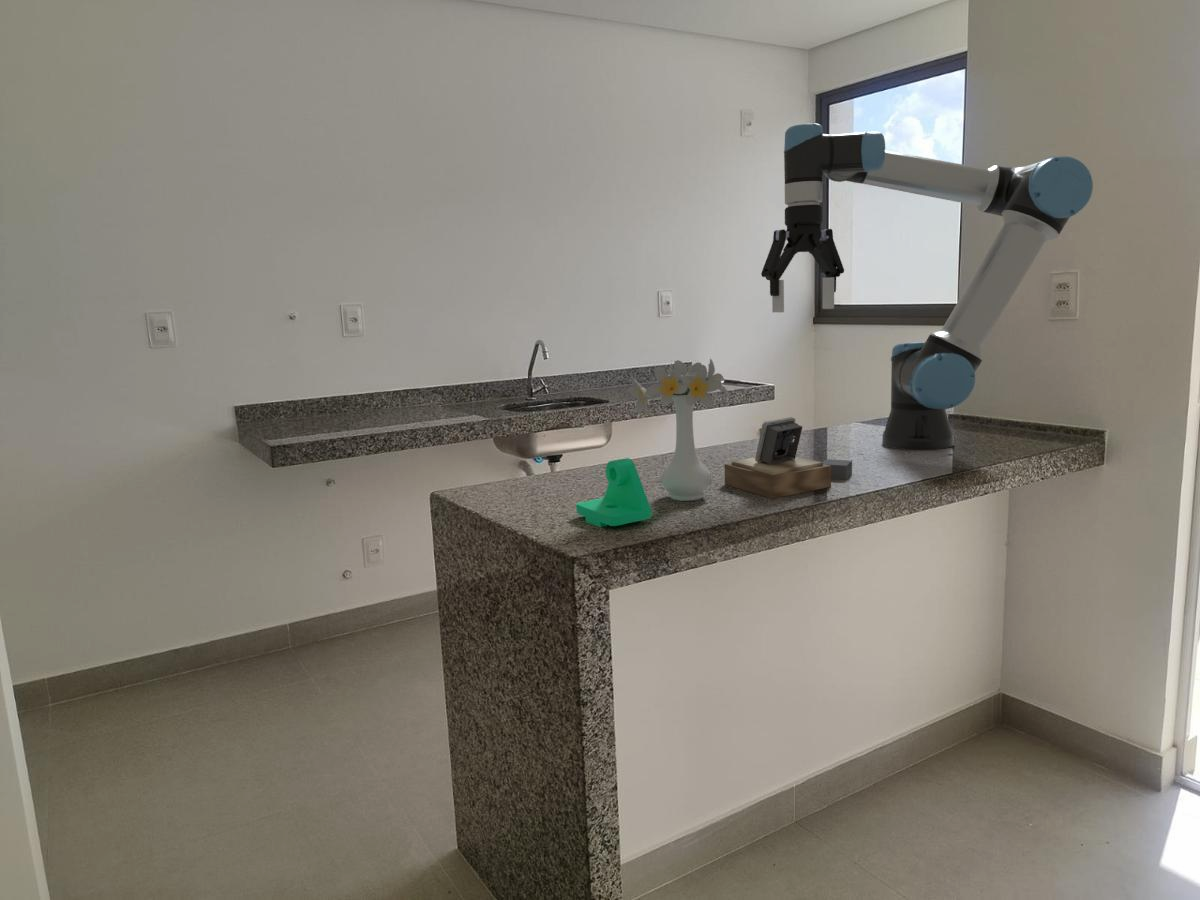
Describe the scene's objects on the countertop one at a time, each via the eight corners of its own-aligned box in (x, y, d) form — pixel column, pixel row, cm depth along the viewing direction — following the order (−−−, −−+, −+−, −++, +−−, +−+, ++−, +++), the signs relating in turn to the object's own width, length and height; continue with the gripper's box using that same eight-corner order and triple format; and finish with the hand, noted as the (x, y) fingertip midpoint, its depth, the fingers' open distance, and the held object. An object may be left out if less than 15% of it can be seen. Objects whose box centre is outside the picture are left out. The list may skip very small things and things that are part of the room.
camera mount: (574, 518, 148) (571, 459, 146) (611, 510, 152) (609, 453, 150) (612, 533, 138) (609, 470, 136) (651, 524, 142) (649, 463, 140)
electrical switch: (784, 456, 167) (787, 415, 165) (802, 462, 164) (805, 419, 161) (753, 463, 162) (756, 420, 160) (772, 469, 159) (775, 425, 157)
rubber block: (826, 473, 172) (826, 459, 172) (851, 475, 170) (852, 460, 169) (820, 479, 168) (820, 464, 167) (846, 480, 166) (846, 465, 165)
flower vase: (623, 499, 159) (617, 363, 154) (705, 484, 167) (702, 355, 162) (661, 513, 147) (656, 367, 143) (747, 497, 156) (745, 358, 151)
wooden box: (781, 474, 173) (781, 451, 172) (831, 486, 161) (831, 462, 160) (724, 484, 166) (724, 461, 165) (772, 498, 154) (771, 473, 153)
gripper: (836, 207, 185) (835, 307, 189) (743, 207, 173) (744, 313, 177) (862, 203, 178) (861, 307, 182) (767, 203, 167) (768, 313, 171)
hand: (803, 310), depth 180 cm, fingers open, 13 cm apart
